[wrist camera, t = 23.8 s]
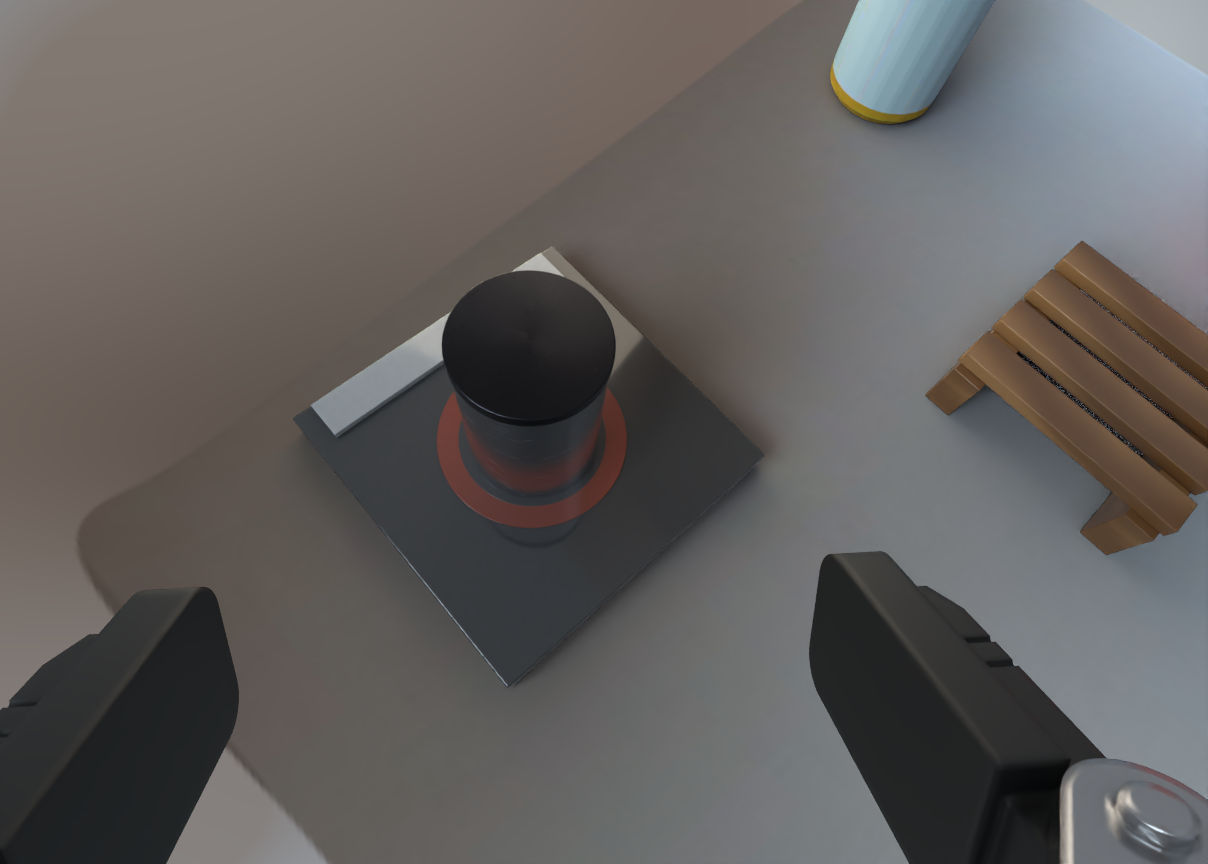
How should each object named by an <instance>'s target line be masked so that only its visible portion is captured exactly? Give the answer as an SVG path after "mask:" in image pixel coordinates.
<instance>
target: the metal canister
mask: <svg viewBox="0 0 1208 864" xmlns="http://www.w3.org/2000/svg"><path fill="white" fill-rule="evenodd" d="M441 345H442V356H443V361H444V365H445V369H446V372H447V375H448V377H449V380H450V382H451V384H452V385H453V388H454V391H455V395H456V399H457V403H458V406H459V410H460V414H461V417H462V421H463V425H464V429H465V432H466V436H467V440H468V443H469V447H470V451H471V455H472V458H473V460H474V463H475V465H476V467H477V468H478V470H479V471H480V473H481V474H482V475H483V477H484V478H485V479H486V480H487V481H488V482H489V483H491V484H492V485H493V486H495V487H496V488H498V489H500V490H501V491H503V492H505V493H508V494H510V495H514V496H518V497H523V498H542V497H548V496H552V495H555V494H557V493H560V492H562V491H564V490H566V489H568V488H569V487H571V486H572V485H574V484H575V483H576V482H577V481H578V480H579V479H580V478H581V477H582V476H583V475H584V474H585V472H586V471H587V470H588V468H589V466H590V465H591V462H592V460H593V458H594V454H595V451H596V445H597V440H598V434H599V428H600V423H601V417H602V412H603V406H604V400H605V395H606V389H607V383H608V380H609V378H610V376H611V372H612V369H613V365H614V360H615V353H616V339H615V333H614V329H613V325H612V322H611V320H610V318H609V316H608V314H607V312H606V310H605V309H604V307H603V306H602V304H601V303H600V302H599V301H598V300H597V299H596V297H595V296H594V295H593V294H591V293H590V292H589V291H588V290H587V289H585V288H584V287H583V286H581V285H580V284H578V283H576V282H574V281H572V280H570V279H569V278H566V277H563V276H561V275H558V274H554V273H550V272H545V271H538V270H520V271H512V272H507V273H503V274H499V275H496V276H493V277H491V278H489V279H486V280H484V281H483V282H481V283H479V284H477V285H476V286H474V287H473V288H472V289H470V290H469V291H468V292H467V293H466V294H465V295H464V296H463V297H462V298H461V299H460V300H459V301H458V302H457V304H456V305H455V306H454V308H453V309H452V311H451V313H450V314H449V316H448V318H447V321H446V323H445V326H444V330H443V334H442V344H441Z"/></svg>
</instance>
